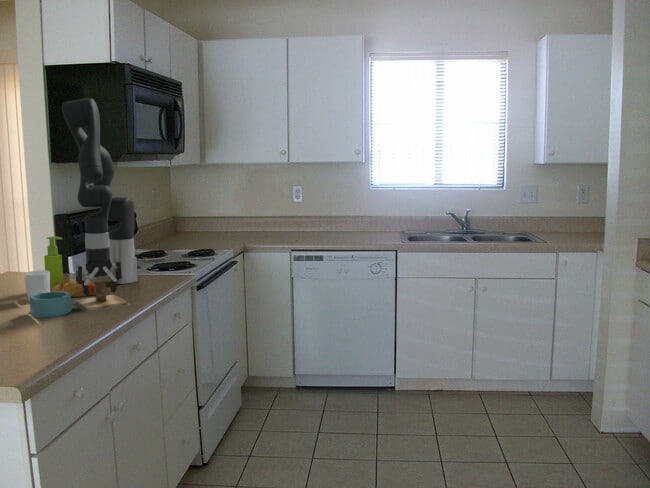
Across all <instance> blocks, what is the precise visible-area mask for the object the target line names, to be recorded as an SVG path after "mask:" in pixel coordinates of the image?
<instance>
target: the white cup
mask: <svg viewBox="0 0 650 488" xmlns="http://www.w3.org/2000/svg"><path fill="white" fill-rule="evenodd" d="M23 275H24V283H25V290H26V295H27V301H28V302H30V296H33V295H35V294H38V293H44V292H50V271H45V269H44V270H39V269H38V270H30V271H27V272H25V273H24V274H23Z"/></svg>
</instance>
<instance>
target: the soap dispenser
mask: <svg viewBox="0 0 650 488" xmlns="http://www.w3.org/2000/svg"><path fill="white" fill-rule="evenodd" d="M46 240H48V241H49V245H47V247H46V249H47V254H46V255H44V256H43V258H44V259H43V261H44V270H45V271H50V288H51V287H52V286H53V285H58V284H60V283H62V282H64V272H63V271H64V269H63V254H59V251H58V245H56V243H55V240H59V241H60V240H63V237H61V236H47V237H46Z"/></svg>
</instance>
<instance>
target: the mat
mask: <svg viewBox="0 0 650 488" xmlns="http://www.w3.org/2000/svg"><path fill="white" fill-rule="evenodd" d="M71 305H74V306H75V307H77V308H78V309H80V310H81V311H82V312H84V313H89V312H96V311H103V310H108V309H114V308H115V309H116V308H121V307H129V306H132V304H131V303H129V302H128V305H123V306H117V307H110V308H104V309H97V310H91V311H87V310H85V309H84V308H82V307H81V306H79V305H78V304H76V302H75V301H74V302H73V301H72V302H71Z"/></svg>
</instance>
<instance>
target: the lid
mask: <svg viewBox="0 0 650 488" xmlns="http://www.w3.org/2000/svg"><path fill="white" fill-rule="evenodd" d="M94 284H95V289H96V295H95V296H94V297H86V298H79V299H75V300H74V302H76V304H78V305H79V306H81V307H82V308H84V309H85V310H87V311H91V310H97V309H104V308H110V307H116V308H118V307H117V306H123V305H128V303H129V302H128V301H127V300H126V299H123V298H121V297H119V296H118V295H115V294H108V295H107V285H106V281H105V280H97V281H95V282H94ZM123 307H124V306H123ZM110 309H111V308H110ZM104 310H105V309H104ZM97 311H98V310H97ZM91 312H92V311H91Z"/></svg>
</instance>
